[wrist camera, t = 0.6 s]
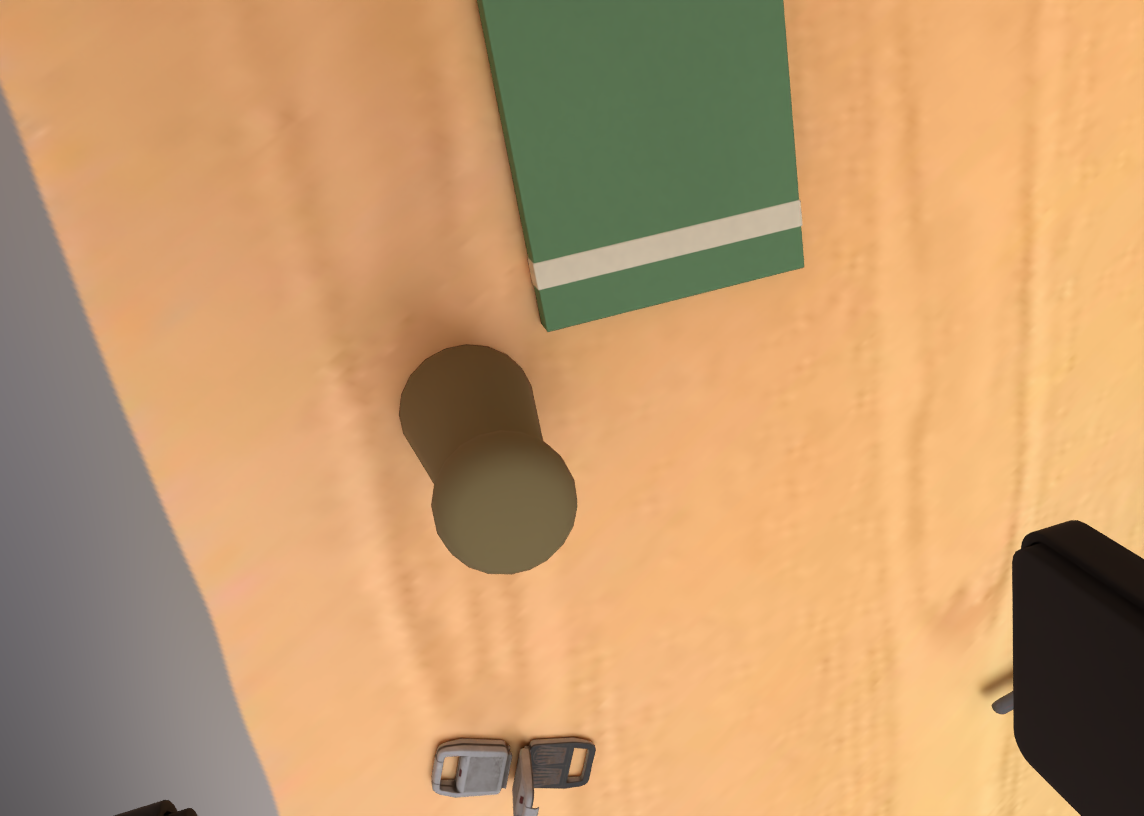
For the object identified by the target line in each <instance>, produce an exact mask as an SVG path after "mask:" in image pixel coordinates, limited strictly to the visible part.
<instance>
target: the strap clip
mask: <svg viewBox="0 0 1144 816" xmlns="http://www.w3.org/2000/svg"><path fill="white" fill-rule="evenodd" d="M574 748H583V749H587V754H586V758H585V763H584V767H583V771H582V774H581V776H579V777H568V773H569V769H570V764H571V760H572V755H573V751H574ZM595 751H596V749H595V745H594V744H593V743H592V742H590V741H588V740H583V739H579V738H574V737H570V738H555V739H540V740H532V741H531V742H530V745H529V746H525V747H524V748H521V750H520V753H519V758H518V763H517V768H516V773H515V778H514V783H513V788H512V792H513V814H514V816H537V815H538V810H539V807H538V808H532V806H533V800H534V788H564V789H565V788H572V787H579V786H582V785H585V784H586V783H587V782H588V780H589V777H590V772H591V767H592V763H593V759H594V755H595ZM448 756H459V761H458V767H457V773H456V778H455V780H440V779H441V773H442V767H443V762H444V759H445V757H448ZM511 760H512V753H511V752H510V745H509V746H506V745H505V742H504V741H503V740H486V739H457V740H453V741H449V742H445V743H443V744H441V745H440V746H439V747H438V749H437V752H436V755H435V759H434V765H433V771H432V788H433V790H434V791H435V792H436V793H438V794H440V795H445V796H450V797H455V798H456V797H469V796H481V795H494V794H498V793H500V791H501V788H505V789H506V785H507V780H508V775H509V770H510V765H511Z"/></svg>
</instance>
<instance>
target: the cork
mask: <svg viewBox="0 0 1144 816" xmlns="http://www.w3.org/2000/svg"><path fill="white" fill-rule="evenodd" d="M399 416H400V421H401V425H402V430H403V434H404V435H405V437H406V439H407V440H408V442H409V444H410V445H411V447H412V449H413V450H414V452H415V454H416V455H417V457H418V458H419V460H420V462H421V463H422V465H423V467H424V468H425V470H426V472H427V473H428V475H429V477H430V478H431V480H432V482H433V483H434V489H433V497H432V504H431V507H432V512H433V516H434V521H435V525H436V530H437V534H438V535H439V537H440V538H441V540H442V541H443V543H444V544H445V546H446V547H447V549H448V550H449V551H450V553H451V554H452V555H453V556H455V557H456V558H457V559H459V560H460V561H461V562H462V563H464V564H465V565H466V566H468V567H470V568H473V569H476V570H479V571H482V572H484V573H487V574H515V573H519V572H523V571H527V570H531V569H532V568H534V567H536V566H538V565H540V564H541V563H543V562H545V561H547V560H548V559H549V558H550V557H551V556H552V555H553V554H554V553H555V552H556V551H557V550H558V549H559V548H560V547H561V546H562V545H563V544H564V542H565V540H566V539H567V537H568V535H569V533H570V531H571V530H572V528H573V526H574V521H575V516H576V511H577V496H576V489H575V482H574V479H573V477H572V475H571V473H570V471H569V470H568V468H567V466H566V464H565V462H564V461H563V459H562V457H561V456H560V455H559V454H558V453H557V452H556V451H554V450H553V449H552V448H551V447H550V446H549V445H548V444H546V443H545V442H544V441H543V438H542V433H541V429H540V424H539V419H538V415H537V410H536V405H535V401H534V396H533V391H532V387H531V384H530V382H529V381H528V379H527V377H526V375H525V373H524V371H523V370H522V368H521V367H520V366H519V365H518V364H516V363H515V362H514V361H513V360H512V359H511V358H510V357H509V356H508V355H506V354H504V353H501V352H499V351H497V350H494V349H492V348H490V347H486V346H476V345H462V346H457V347H452V348H448V349H444V350H442V351H441V352H439V353H437V354H435V355H433V356H431V357H430V358H428V359H426V360H425V361H424V362H423V363H422V364H421V365H420V366H419V367H418V368H417V369H416V370H415V371H414V372H413V373H412V374H411V376H410V378H409V380H408V382H407V384H406V386H405V388H404V390H403V392H402V395H401V403H400V411H399Z"/></svg>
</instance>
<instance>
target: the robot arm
mask: <svg viewBox="0 0 1144 816" xmlns="http://www.w3.org/2000/svg"><path fill="white" fill-rule="evenodd" d="M1012 590H1013V711H1014V736H1015V739H1016V742H1017V745H1018V747H1019V749H1020V751H1021V753H1022V755H1023V756H1024V758H1025V759H1026V760H1027V762H1028V763H1029V764H1030V765H1031V766H1032V767H1033V768H1034V769H1035V770H1036V771H1037V772H1038V773H1039V774H1040V775H1041V776H1042V777H1043V778H1044V779H1045V780H1046V781H1047V782H1048V783H1049V784H1050V785H1051V786H1052V787H1053V788H1054V789H1055V790H1056V791H1057V792H1058V793H1059V794H1060V795H1061V796H1062V797H1063V798H1064V799H1065V800H1066V801H1067V802H1068V803H1069V804H1070V805H1071V806H1072V807H1073V808H1074V809H1075V810H1076V811H1077V812H1078V813H1079V814H1080V815H1081V816H1144V559H1143V558H1141V557H1139V556H1138V555H1136V554H1134V553H1133V552H1131V551H1130V550H1128V549H1126V548H1125V547H1123V546H1121V545H1120V544H1118V543H1116V542H1115V541H1113V540H1112V539H1110V538H1108V537H1107V536H1105V535H1103V534H1102V533H1100V532H1099V531H1097V530H1095V529H1094V528H1092V527H1090V526H1089V525H1087V524H1085V523H1083V522H1080V521H1078V520H1070V521H1067V522H1064V523H1061V524H1057V525H1054V526H1051V527H1048V528H1044V529H1041V530H1038V531H1035V532H1032V533H1029V534H1028V535H1026V536H1025V537H1024V539H1023V541H1022V545H1021V549H1020V550H1018V551H1016V552H1015V554H1014V556H1013V561H1012ZM115 816H197V814H196V812H195V811H194V810H193V809H192V808H187V809H184V810H181V811H177V809H176V808H175V806H174V804H172V803H171V802H170V801H169V800H163V801H160V802H157V803H153V804H150V805H147V806H144V807H140V808H137V809H134V810H131V811H128V812H125V813H121V814H118V815H115Z"/></svg>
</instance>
